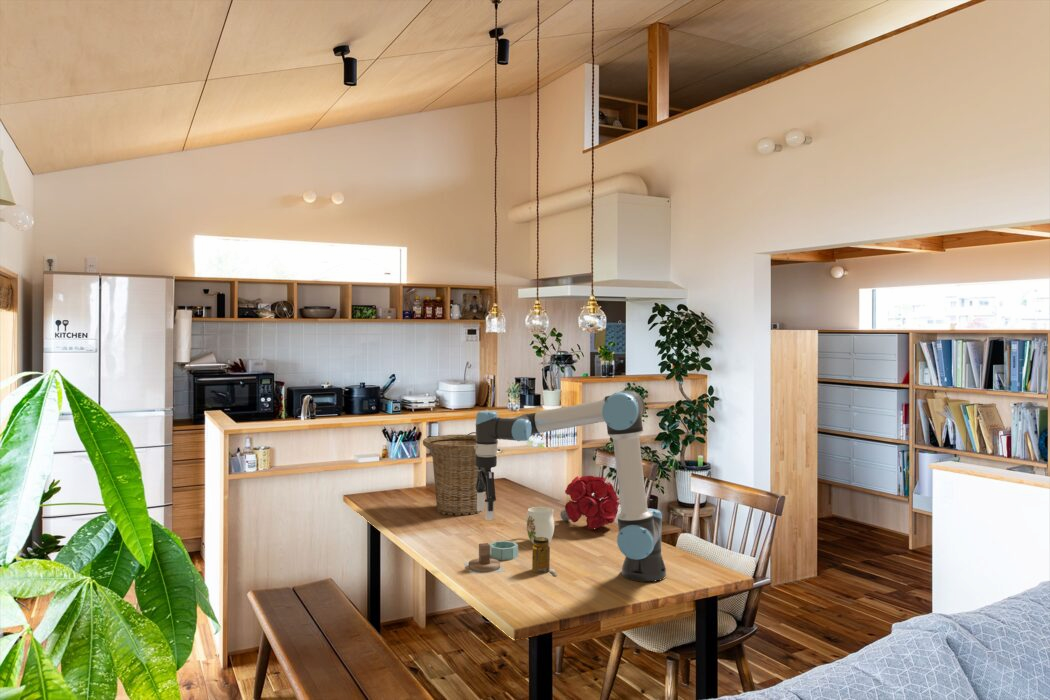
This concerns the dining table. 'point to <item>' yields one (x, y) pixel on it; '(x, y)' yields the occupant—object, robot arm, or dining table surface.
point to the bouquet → (591, 501)
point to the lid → (484, 560)
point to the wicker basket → (454, 473)
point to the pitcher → (540, 523)
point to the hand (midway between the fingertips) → (485, 515)
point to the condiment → (541, 556)
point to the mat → (482, 572)
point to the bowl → (503, 550)
